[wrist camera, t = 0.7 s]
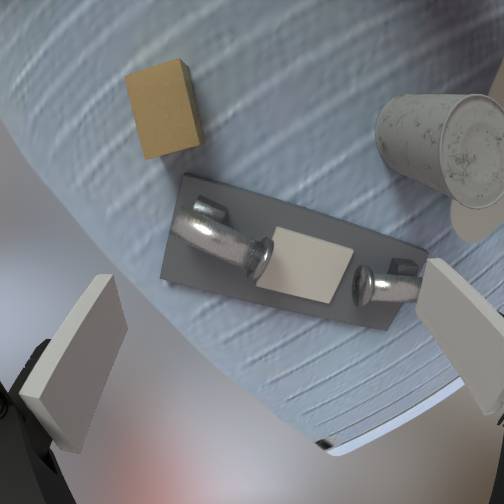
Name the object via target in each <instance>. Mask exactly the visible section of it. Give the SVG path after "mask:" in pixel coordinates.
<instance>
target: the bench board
mask: <svg viewBox="0 0 504 504" xmlns="http://www.w3.org/2000/svg"><path fill="white" fill-rule="evenodd" d="M199 195H201V196H204V197H206V198H208V199H210V200H212V201H214V202H216V203H219V204H221V205H223V206H225V207H226V214H225V216H224V218H223V220H222V222H221V224H223V225H225V226H228V227H230V228H232V229H234V230H236V231H238V232H241V233H243V234H245V235H247V236H249V237H251V238H253V239H256V240H258V241H261V240H262V239H263V238H264V237H269V238H271V239H272V237H273V235H274V232H275V229H276V226H277V227H281V228H284V229H288V230H291V231H294V232H298V233H301V234H304V235H308V236H311V237H314V238H318V239H321V240H324V241H328V242H331V243H334V244H338V245H341V246H344V247H347V248H351V249H353V251H354V252H353V254H352V257H351V259H350V261H349V263H348V265H347V267H346V270H345V272H344V274H343V276H342V278H341V280H340V282H339V284H338V287H337V289H336V291H335V293H334V295H333V297H332V299H331V301H330V303H324V302H320V301H316V300H311V299H307V298H303V297H299V296H295V295H290V294H286V293H282V292H278V291H274V290H270V289H266V288H262V287H258V286H256V281H255V282H253V281H251V280H249V279H247V270H244V269H242V268H240V267H238V266H235V265H233V264H231V263H229V262H226V261H224V260H222V259H220V258H217V257H215V256H213V255H211V254H208V253H206V252H204V251H202V250H199V249H197V248H195V247H193V246H190V245H188V244H186V243H184V242H182V241H179V240H177V239H175V238H173V237H171V236H168V241H167V245H166V250H165V255H164V260H163V265H162V270H161V275H160V279H163V280H167V281H171V282H174V283H178V284H182V285H186V286H190V287H193V288H197V289H201V290H205V291H209V292H213V293H217V294H221V295H225V296H229V297H233V298H237V299H241V300H245V301H249V302H253V303H258V304H262V305H266V306H270V307H275V308H279V309H284V310H288V311H292V312H297V313H302V314H306V315H311V316H315V317H320V318H325V319H330V320H334V321H339V322H344V323H349V324H354V325H359V326H364V327H369V328H375V329H380V330H385V331H387V330H388V328H389V326H390V325H391V323H392V321H393V320H394V318H395V316H396V315H397V313H398V311H399V309H400V308H401V306H402V304H403V302H385V301H370V303H369V304H368V305H367V306H366V307H357V306H356V305H355V304H354V302H353V298H352V281H353V276H354V273H355V271H356V269H357V268H358V267H359V266H360V265H366V266H369V267H370V268H371V269H372V271H373V273H381V274H387V272H388V269H389V266H390V263H391V260H392V257H393V258H401V259H410V260H413V261H414V262H415V263H416V264H417V265H418V266H419V267H420V268H419V271H418V274H417V276H416V277H418V275H419V273H420V271H421V269H422V267H423V265H424V263H425V261H426V259H427V257H428V255H429V253H428V252H427V251H426V250H425V249H422V248H419V247H417V246H414V245H411V244H409V243H406V242H403V241H401V240H398V239H395V238H392V237H390V236H387V235H384V234H381V233H379V232H376V231H373V230H370V229H367V228H364V227H361V226H359V225H356V224H353V223H350V222H347V221H344V220H341V219H338V218H335V217H332V216H329V215H326V214H323V213H320V212H317V211H314V210H310V209H307V208H304V207H301V206H298V205H295V204H292V203H288V202H285V201H282V200H279V199H275V198H272V197H269V196H265V195H262V194H259V193H255V192H252V191H248V190H245V189H242V188H238V187H235V186H231V185H227V184H224V183H220V182H217V181H213V180H209V179H206V178H202V177H198V176H195V175H191V174H187V173H185V174H184V175H183V177H182V181H181V185H180V189H179V193H178V197H177V201H176V205H175V210H174V214H173V218H172V222H171V227H170V231H171V228H172V226H173V224H174V221H175V219H176V217H177V215H178V213H179V211H180V209H181V207H182V206H184V207H186V208H189V209H191V210H192V209H193V207H194V205H195V203H196V201H197V199H198V197H199ZM170 231H169V233H170Z"/></svg>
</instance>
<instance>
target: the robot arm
mask: <svg viewBox="0 0 504 504" xmlns="http://www.w3.org/2000/svg"><path fill="white" fill-rule="evenodd" d="M415 313H416V314H417V316H418V317H419V318H420V320H421V321H422V322H423V324H424V325H425V326H426V328H427V329H428V331H429V332H430V333H431V335H432V336H433V338H434V339H435V340H436V342H437V343H438V345H439V346H440V348H441V349H442V350H443V352H444V353H445V355H446V356H447V358H448V359H449V361H450V362H451V364H452V365H453V367H454V368H455V370H456V371H457V373H458V374H459V376H460V377H461V379H462V380H463V382H464V383H465V385H466V386H467V388H468V389H469V391H470V393H471V394H472V396H473V397H474V399H475V401H476V402H477V404H478V406H479V407H480V409H481V410H482V412H483V414H484V416H487V415H489V414H491V413H494V412H496V411H498V410H499V409H500V408H501V407H502V405H503V404H504V315H503V314H502V313H500V312H499V311H497V310H495V309H494V308H493V307H492V306H491V305H490V304H489V303H488V302H487V301H486V300H485V299H484V298H483V297H482V296H481V295H480V294H479V293H478V292H477V291H476V290H475V289H474V288H473V287H472V286H471V285H470V284H469V283H468V282H467V281H466V280H465V279H463V278H462V277H461V276H460V275H459V274H458V273H457V272H456V271H455V270H454V269H453V268H451V267H450V266H449V265H448V264H447V263H446V262H445V261H444V260H442V259H441V258H433V259H427V263H426V267H425V272H424V276H423V281H422V285H421V289H420V293H419V297H418V301H417V305H416V309H415ZM127 330H128V327H127V324H126V320H125V317H124V313H123V310H122V306H121V303H120V299H119V295H118V291H117V287H116V283H115V280H114V275H113V274H107V275H105V274H103V275H96V277H95V278H94V279H93V281H92V282H91V283H90V285H89V286H88V287H87V289H86V290H85V292H84V293H83V294H82V296H81V297H80V299H79V300H78V301H77V303H76V304H75V306H74V307H73V308H72V310H71V311H70V313H69V314H68V316H67V317H66V319H65V320H64V322H63V323H62V324H61V326H60V327H59V329H58V330H57V332H56V334H55V335H54V337H53V338H52V339H46V340H45V341H43V342H42V343H41V344H40V345H39V346H38V347H36V349H35V350H34V352H33V354H32V355H31V357H30V359H29V360H28V361H27V363H26V364H25V368H23V369H22V371H21V372H20V374H19V376H18V377H17V379H16V380H15V382H14V384H13V385H12V387H11V389H10V391H9V392H8V393H7V391H6V390H5V388H4V386H3V385H2V383H1V382H0V504H76V502H75V500H74V498H73V496H72V494H71V492H70V490H69V488H68V486H67V483H66V481H65V479H64V477H63V475H62V473H61V470H60V468H59V465H58V463H57V461H56V458H55V456H54V454H53V452H52V450H51V449H50V445H51V442H52V440H53V441H54V442H55V443H56V445H57V446H58V447H59V448H60V449H61V450H64V451H68V452H72V453H77V454H81V450H82V448H83V444H84V441H85V438H86V436H87V433H88V430H89V427H90V424H91V421H92V419H93V416H94V413H95V410H96V408H97V405H98V402H99V399H100V397H101V394H102V392H103V389H104V386H105V384H106V381H107V379H108V376H109V374H110V371H111V369H112V366H113V364H114V361H115V359H116V356H117V354H118V351H119V349H120V347H121V344H122V342H123V339H124V337H125V335H126V332H127ZM503 420H504V414H503V415H502V417H501V418H500V419H499V421H498V424H497V425H500V424H501V423H502V421H503ZM503 427H504V425H503ZM489 504H504V437H503V443H502V449H501V454H500V459H499V464H498V469H497V474H496V478H495V482H494V487H493V490H492V495H491V498H490V501H489Z"/></svg>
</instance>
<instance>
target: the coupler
mask: <svg viewBox="0 0 504 504" xmlns="http://www.w3.org/2000/svg"><path fill="white" fill-rule="evenodd" d="M125 80H126V84H127V89H128V93H129V98H130V102H131V106H132V110H133V114H134V118H135V122H136V126H137V130H138V134H139V138H140V142H141V146H142V150H143V153H144V157H145V160H148V159H151V158H155V157H158V156H162V155H165V154H169V153H172V152H176V151H180V150H183V149H187V148H191V147H195V146H199V145H201V144H202V143H203V142H205V136H204V132H203V128H202V124H201V120H200V115H199V111H198V107H197V103H196V99H195V94H194V90H193V86H192V81H191V77H190V73H189V68H188V66H187V65H186V64H185V63H184V62H183V61H182V60H181V59H180V58H179V59H176V60H172V61H169V62H166V63H162V64H159V65H156V66H153V67H150V68H147V69H144V70H141V71H138V72H135V73H132V74H130V75H127V76H125Z"/></svg>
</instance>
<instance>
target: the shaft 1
mask: <svg viewBox="0 0 504 504" xmlns="http://www.w3.org/2000/svg"><path fill="white" fill-rule="evenodd" d="M225 214H226V207H225V206H223V205H221V204H219V203H216V202H214V201H212V200H210V199H208V198H206V197H204V196H201V195H199V197H198V199H197V201H196V203H195V205H194V207H193V209H192V210H191V209H189V208H186V207H184V206H182V207H181V209H180V211H179V213H178V215H177V217H176V219H175V221H174V224H173V226H172V228H171V231H170V233H169V236H171V237H173V238H175V239H177V240H179V241H182V242H184V243H186V244H188V245H190V246H193V247H195V248H197V249H199V250H202V251H204V252H206V253H208V254H211V255H213V256H215V257H217V258H220V259H222V260H224V261H226V262H229V263H231V264H233V265H235V266H238V267H240V268H242V269H244V270H247V279H249V280H251V281H253V282H255V281H257V280H258V279H259V278H260V277H261V276H262V274H263V273H264V271H265V269H266V267H267V266H268V263H269V261H270V259H271V256H272V253H273V249H274V240H273V239H271V238H269V237H264V238H263V239H262V240H261V241H258V240H256V239H253V238H251V237H249V236H247V235H245V234H243V233H241V232H238V231H236V230H234V229H232V228H230V227H228V226H225V225H223V224H221V222H222V220H223V218H224V216H225Z"/></svg>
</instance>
